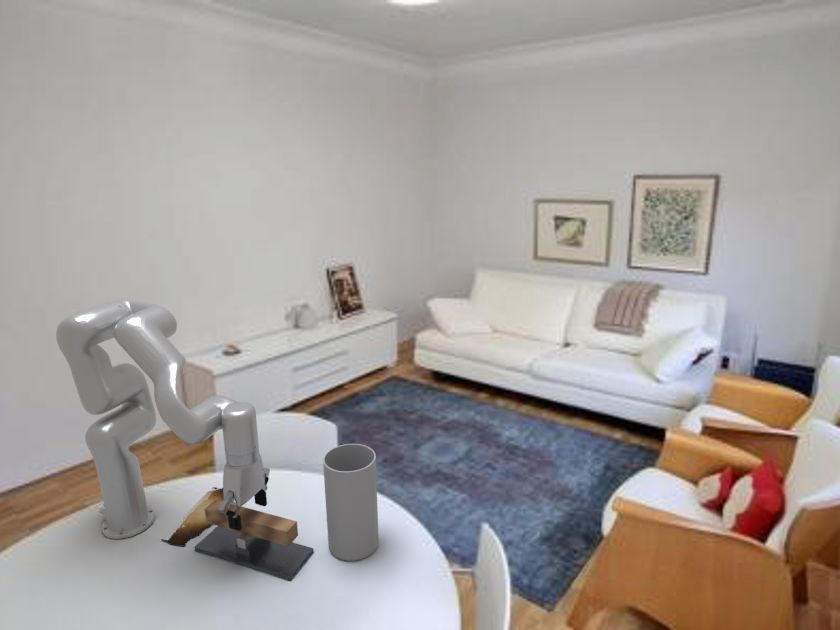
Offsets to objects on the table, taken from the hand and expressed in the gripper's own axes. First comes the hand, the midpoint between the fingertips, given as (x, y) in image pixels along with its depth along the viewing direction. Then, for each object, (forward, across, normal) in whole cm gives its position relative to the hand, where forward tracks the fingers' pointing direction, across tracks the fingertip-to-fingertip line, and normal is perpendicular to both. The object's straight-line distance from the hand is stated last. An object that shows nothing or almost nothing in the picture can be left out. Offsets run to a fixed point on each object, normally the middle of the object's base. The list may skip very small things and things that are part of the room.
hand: (248, 516), depth 131 cm
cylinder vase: (+10, -11, +22) cm, 27 cm away
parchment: (+11, -7, -21) cm, 25 cm away
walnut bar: (+4, 0, 0) cm, 4 cm away
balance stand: (+10, 0, 0) cm, 10 cm away
